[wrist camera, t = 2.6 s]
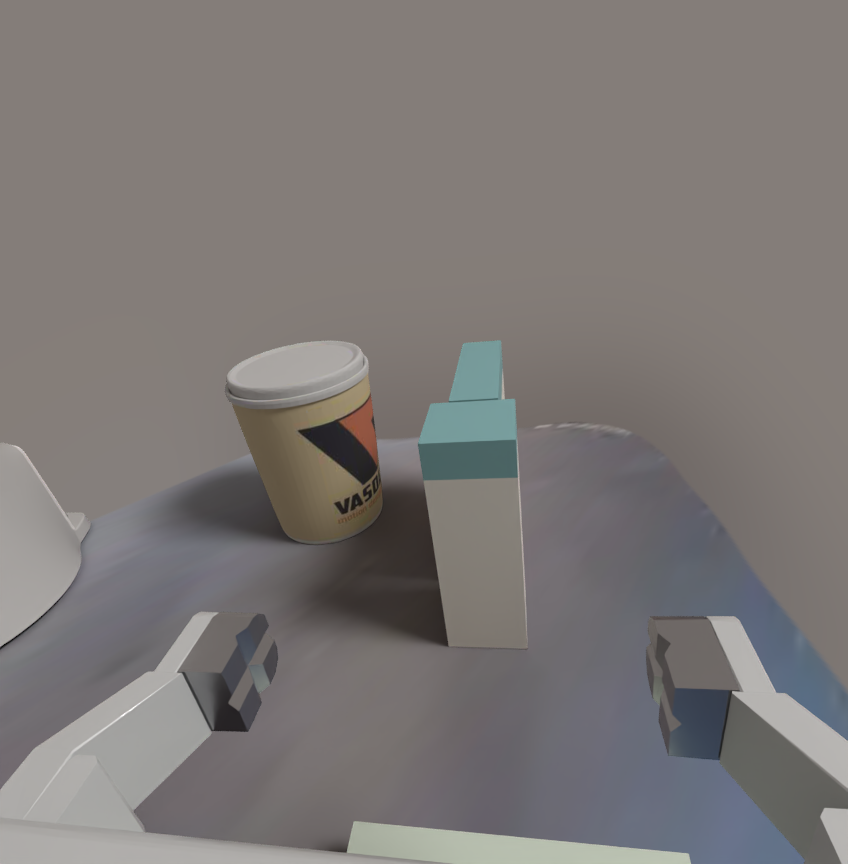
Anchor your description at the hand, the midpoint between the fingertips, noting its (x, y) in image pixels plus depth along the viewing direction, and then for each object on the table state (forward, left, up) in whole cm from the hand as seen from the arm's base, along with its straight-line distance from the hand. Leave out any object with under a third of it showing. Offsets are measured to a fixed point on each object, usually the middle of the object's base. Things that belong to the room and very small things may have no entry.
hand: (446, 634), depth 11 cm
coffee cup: (-17, +19, -13) cm, 29 cm away
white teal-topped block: (-3, +12, -13) cm, 18 cm away
